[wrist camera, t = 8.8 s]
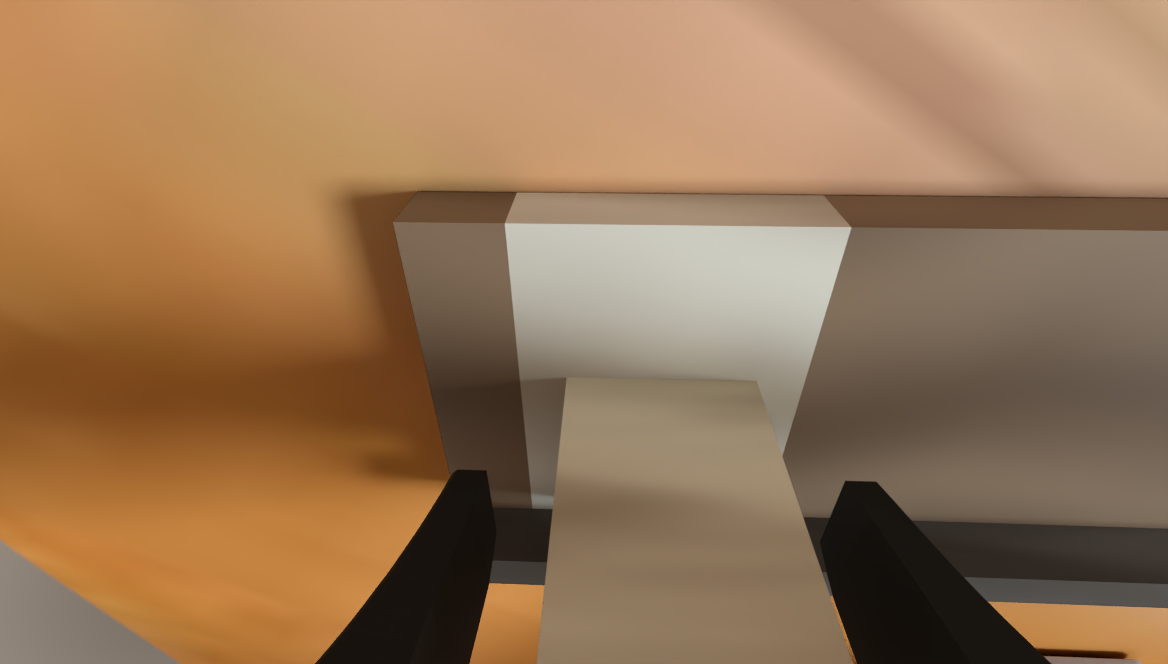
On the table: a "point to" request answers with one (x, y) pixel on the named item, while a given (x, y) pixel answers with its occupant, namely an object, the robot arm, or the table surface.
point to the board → (830, 359)
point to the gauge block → (679, 533)
